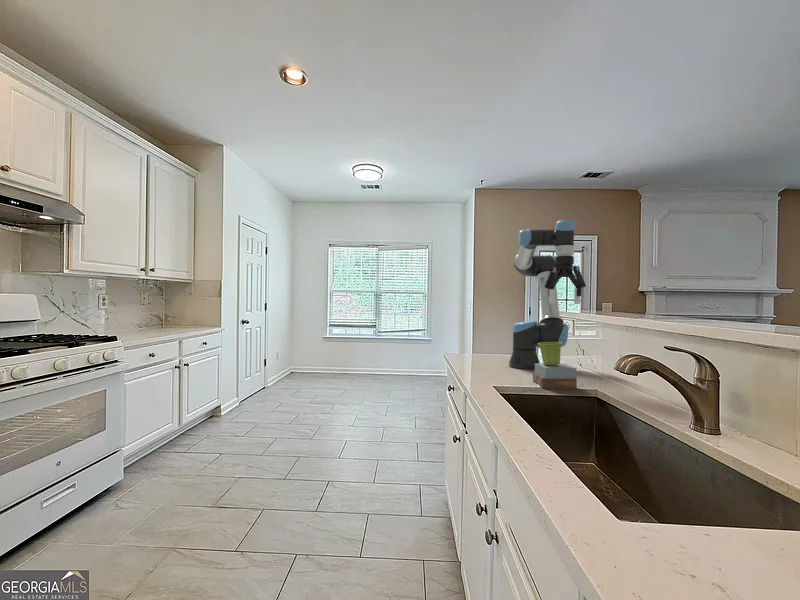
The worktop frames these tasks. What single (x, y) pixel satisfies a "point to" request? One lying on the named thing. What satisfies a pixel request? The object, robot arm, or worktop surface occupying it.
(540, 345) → the plant pot
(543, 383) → the walnut base block
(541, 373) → the slate top block
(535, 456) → the worktop surface
